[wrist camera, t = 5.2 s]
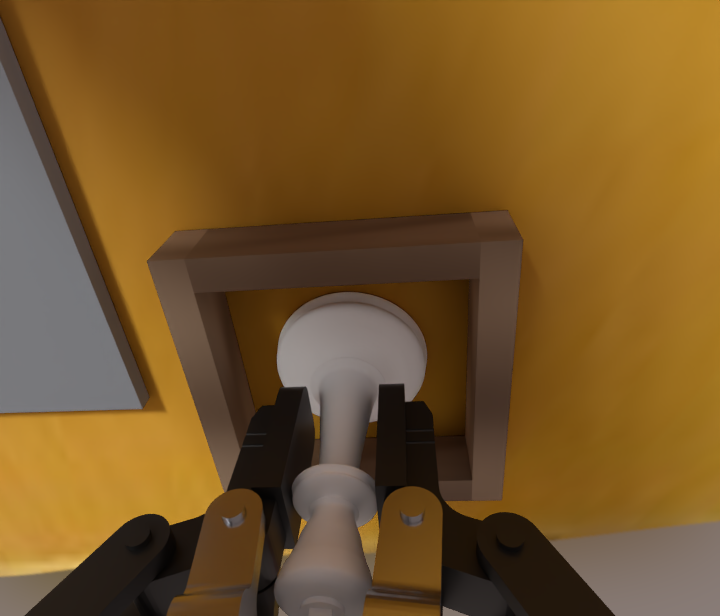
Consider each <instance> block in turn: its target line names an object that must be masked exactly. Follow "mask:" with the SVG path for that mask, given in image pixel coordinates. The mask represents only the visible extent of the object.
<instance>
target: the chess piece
mask: <svg viewBox="0 0 720 616" xmlns="http://www.w3.org/2000/svg"><path fill="white" fill-rule="evenodd" d="M426 364H427V348H426V343H425V340H424V337H423V334H422V332H421V330H420V329H419V327H418V325H417V324H416V323H415V321H414V320H413V319H412V318H411V317H410V316H409V315H408V314H407V313H406V312H405V311H404V310H402V309H401V308H400V307H398V306H397V305H395V304H393V303H391V302H389V301H387V300H385V299H383V298H380V297H377V296H374V295H370V294H365V293H359V292H339V293H332V294H328V295H324V296H321V297H318V298H315V299H313V300H311V301H309V302H307V303H306V304H304V305H303V306H301V307H300V308H299V309H297V310H296V311H295V312H294V313H293V314H292V315H291V316H290V318H289V319H288V320H287V322H286V323H285V325H284V327H283V329H282V331H281V334H280V337H279V341H278V352H277V368H278V373H279V376H280V379H281V381H282V383H283V385H284V387H304V386H306V387H307V390H308V394H309V400H310V405H311V411H312V413H313V414H315V415H317V416H319V417H320V455H319V465H315V466H312V467H310V468H308V469H306V470H304V471H303V472H301V473H300V474H299V475H298V476H297V477H296V478H295V480H294V482H293V484H292V495H293V497H292V501H293V505H294V508H295V510H296V511H297V513H298V514H299V515H300V516H301V517H302V518H303V519H304V520H306V521H307V524H306V525H305V527H304V529H303V530H302V532H301V534H300V537H299V539H298V541H297V543H296V545H295V547H294V549H293V551H292V552H291V554H290V555H289V557H288V558H287V559H286V561H285V563H284V564H283V566H282V568H281V570H280V572H279V574H278V576H277V579H276V581H275V585H274V596H275V600H276V602H277V604H278V605H279V607H280V608H281V609H282V610H283V611H284V612H285V613H286V614H287V615H288V616H363V609H364V602H365V597H366V593H367V591H368V589H371V585H372V577H371V573H370V570H369V567H368V565H367V563H366V559H365V556H364V552H363V548H362V542H361V537H360V534H359V531H358V527H360V526H362V525H364V524H366V523H367V522H369V521H370V520H371V519H372V518H373V517H374V515H375V514H376V512H377V502H376V493H375V480H374V479H373V478H372V477H371V476H370V475H368V474H367V473H365V472H364V471H362V470H360V469H359V468H360V462H361V456H362V451H363V447H364V442H365V437H366V433H367V429H368V425H369V422H374V421H377V419H378V394H379V384H401V383H404V387H405V402H411V401H412V400H413V399H414V397H415V396H416V395H417V393H418V392H419V390H420V388H421V386H422V383H423V380H424V377H425V370H426Z"/></svg>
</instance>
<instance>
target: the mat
mask: <svg viewBox="0 0 720 616" xmlns="http://www.w3.org/2000/svg"><path fill="white" fill-rule="evenodd" d="M149 398H150V397H149V395H148V392H147V390H146V387H145V385H144V382H143V379H142V377H141V374H140V372H139V369H138V367H137V364H136V362H135V359H134V357H133V354H132V351H131V349H130V346H129V344H128V341H127V339H126V336H125V334H124V331H123V329H122V326H121V323H120V321H119V318H118V316H117V313H116V311H115V308H114V306H113V303H112V301H111V298H110V295H109V293H108V290H107V288H106V285H105V283H104V280H103V278H102V275H101V273H100V270H99V267H98V265H97V262H96V260H95V257H94V255H93V252H92V250H91V247H90V245H89V242H88V239H87V237H86V234H85V232H84V229H83V227H82V224H81V222H80V219H79V216H78V214H77V211H76V209H75V206H74V204H73V201H72V199H71V196H70V194H69V191H68V188H67V186H66V183H65V181H64V178H63V176H62V173H61V171H60V168H59V166H58V163H57V160H56V158H55V155H54V153H53V150H52V148H51V145H50V143H49V140H48V138H47V135H46V132H45V130H44V127H43V125H42V122H41V120H40V117H39V115H38V112H37V110H36V107H35V104H34V102H33V99H32V97H31V94H30V92H29V89H28V87H27V84H26V82H25V79H24V76H23V74H22V71H21V69H20V66H19V64H18V61H17V59H16V56H15V54H14V51H13V48H12V46H11V43H10V41H9V38H8V36H7V33H6V31H5V28H4V26H3V23H2V20H1V18H0V413H19V412H54V411H89V410H124V409H143V407H144V406H145V404H146V403H147V401H148V399H149Z"/></svg>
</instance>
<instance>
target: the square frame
mask: <svg viewBox="0 0 720 616" xmlns="http://www.w3.org/2000/svg"><path fill="white" fill-rule="evenodd" d="M522 248H523V238H522V237H521V235H520V233H519V231H518V229H517V227H516V225H515V223H514V222H513V220H512V218H511V216H510V214H509V212H508V210H505V211H489V212H473V213H457V214H442V215H426V216H410V217H394V218H378V219H362V220H346V221H330V222H315V223H299V224H283V225H267V226H251V227H235V228H219V229H203V230H188V231H175V232H174V233H173V234H172V235H171V236H170V237H169V238H168V239H167V241H166V242H165V243H164V244H163V245H162V246H161V247H160V248H159V249H158V250H157V251H156V252H155V253H154V254H153V255H152V256H151V257H150V258H149V260H148V261H147V263H148V266H149V269H150V272H151V275H152V278H153V281H154V284H155V287H156V290H157V293H158V296H159V299H160V302H161V305H162V308H163V311H164V314H165V317H166V320H167V323H168V326H169V329H170V332H171V335H172V338H173V341H174V344H175V347H176V350H177V353H178V356H179V359H180V361H181V364H182V367H183V370H184V373H185V376H186V379H187V382H188V385H189V388H190V391H191V394H192V397H193V400H194V403H195V406H196V409H197V412H198V415H199V418H200V421H201V424H202V427H203V430H204V433H205V436H206V439H207V442H208V445H209V448H210V451H211V454H212V457H213V460H214V463H215V466H216V469H217V472H218V475H219V478H220V481H221V483H222V486H223V489H224V492H226V491H227V488H228V485H229V482H230V479H231V476H232V473H233V470H234V468H235V465H236V462H237V459H238V456H239V453H240V450H241V448H242V444H243V441H244V438H245V436H246V432H247V429H248V426H249V423H250V421H251V418H252V417H253V416H254V415H255V414H256V412H255V408H254V404H253V400H252V396H251V393H250V389H249V385H248V381H247V377H246V373H245V369H244V365H243V362H242V358H241V354H240V350H239V346H238V342H237V338H236V334H235V331H234V327H233V323H232V319H231V315H230V311H229V307H228V304H227V300H226V296H225V292H224V291H244V290H264V289H283V288H303V287H323V286H342V285H362V284H382V283H401V282H421V281H441V280H461V279H469V296H468V338H467V380H466V422H465V436H439V437H434V438H435V449H436V460H437V470H438V481H439V490H440V493H441V496H442V498H443V499H444V501H486V500H502V493H503V480H504V468H505V456H506V444H507V431H508V419H509V407H510V395H511V383H512V370H513V358H514V346H515V334H516V322H517V309H518V297H519V285H520V273H521V260H522ZM376 444H377V438H365V442H364V447H363V451H362V456H361V462H360V468H359V469H360V470H362V471H364V472H365V473H367V474H368V475H370V476H371V477H372V478H373V479H374V480H375V468H376ZM319 455H320V439H315V444H314V451H313V457H312V462H311V467H312V466H315V465H319Z"/></svg>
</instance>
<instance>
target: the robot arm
mask: <svg viewBox="0 0 720 616" xmlns="http://www.w3.org/2000/svg"><path fill="white" fill-rule="evenodd" d="M314 444H315V428H314V422H313V416H312V411H311V405H310V400H309V394H308V390H307V387H306V386H304V387H281V388H280V389H279V392H278V395H277V398H276V402H275V405H268V406H262V407H261V408H260V409H259V410H258V411H257V413H256V414H255V415H254V416H253V417H252V418H251V421H250V423H249V426H248V429H247V432H246V436H245V438H244V441H243V444H242V448H241V450H240V453H239V456H238V459H237V462H236V465H235V468H234V470H233V473H232V476H231V479H230V482H229V485H228V488H227V491H226V492H225V493H223V494H221V495H220V496H218V497H217V498H216V499H215V500H214V501H213V502H212V503H211V504H210V505H209V507H208V509H207V510H206V513H205V514H203V515H201V516H199V517H196V518H194V519H190V520H187V521H183V522H180V523H177V524H173V525H169V523H168V521H167V520H166V519H165V518H164V517H162V516H160V515H157V514H145V515H141V516H138V517H136V518H134V519H132V520H130V521H128V522H127V523H125V524H124V525H123V526H121V527H120V528H119V529H118V530H117V531H116V532H115V533H114V534H113V535H112V536H111V537H109V538H108V539H107V540H106V541H105V542H104V543H103V544H102V545H101V546H100V547H99V548H97V549H96V550H95V551H94V552H93V553H92V554H91V555H90V556H89V557H88V558H87V559H86V560H84V561H83V562H82V563H81V564H80V565H79V566H78V567H77V568H76V569H75V570H74V571H72V572H71V573H70V574H69V575H68V576H67V577H66V578H65V579H64V580H63V581H62V582H60V583H59V584H58V585H57V586H56V587H55V588H54V589H53V590H52V591H51V592H50V593H49V594H47V595H46V596H45V597H44V598H43V599H42V600H41V601H40V602H39V603H38V604H37V605H36V606H34V607H33V608H32V609H31V610H30V611H29V612H28V613H27V614H26V615H25V616H278V613H279V605H278V604H277V602H276V600H275V596H274V585H275V581H276V579H277V576H278V574H279V572H280V570H281V567H280V566H281V561H282V556H283V551H284V549H294V547H295V545H296V543H297V541H298V535H299V530H300V524H301V519H302V517H301V516H300V515H299V514H298V513H297V511H296V510H295V508H294V505H293V501H292V497H293V495H292V484H293V482H294V480H295V478H296V477H297V476H298V475H299V474H300V473H301V472H303V471H304V470H306V469H308V468H310V467H311V462H312V457H313V451H314ZM375 493H376V502H377V511H378V520H379V537H378V544H377V551H376V558H375V566H374V572H373V580H372V585H371V589H368V591H367V593H366V597H365V602H364V609H363V616H443V606H444V607H447V608H449V609H452V610H455V611H458V612H460V613H463V614H466V615H469V616H615V615H614V614H613V613H612V612H611V610H610V609H609V608H608V607H607V606H606V605H605V604H604V603H603V601H602V600H601V599H600V598H599V597H598V596H597V595H596V594H595V593H594V591H593V590H592V589H591V588H590V587H589V586H588V585H587V583H586V582H585V581H584V580H583V579H582V578H581V577H580V576H579V575H578V573H577V572H576V571H575V570H574V569H573V568H572V567H571V566H570V564H569V563H568V562H567V561H566V560H565V559H564V558H563V557H562V555H561V554H560V553H559V552H558V551H557V550H556V549H555V548H554V547H553V545H552V544H551V543H550V542H549V541H548V540H547V539H546V537H545V536H544V535H543V534H542V533H541V532H540V531H539V530H538V529H537V527H536V526H535V525H534V524H533V523H532V522H530V521H529V520H528V519H526V518H524V517H522V516H520V515H517V514H514V513H508V512H500V513H495V514H492V515H490V516H488V517H487V518H485V519H484V520H483V521H481V520H477V519H474V518H471V517H467V516H464V515H462V514H460V513H458V512H456V511H455V510H453V509H452V508H451V507H449V506H448V505H447V503H446V502H445V501H444V499H443V498H442V496H441V493H440V490H439V481H438V470H437V460H436V449H435V438H434V427H433V416H432V413H431V411H430V410H429V408H428V407H427V405H426V404H425V402H424V401H412V402H405V387H404V383H401V384H379V394H378V419H377V444H376V468H375Z"/></svg>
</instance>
